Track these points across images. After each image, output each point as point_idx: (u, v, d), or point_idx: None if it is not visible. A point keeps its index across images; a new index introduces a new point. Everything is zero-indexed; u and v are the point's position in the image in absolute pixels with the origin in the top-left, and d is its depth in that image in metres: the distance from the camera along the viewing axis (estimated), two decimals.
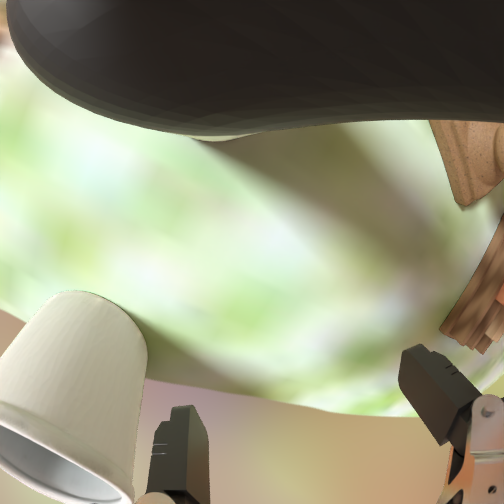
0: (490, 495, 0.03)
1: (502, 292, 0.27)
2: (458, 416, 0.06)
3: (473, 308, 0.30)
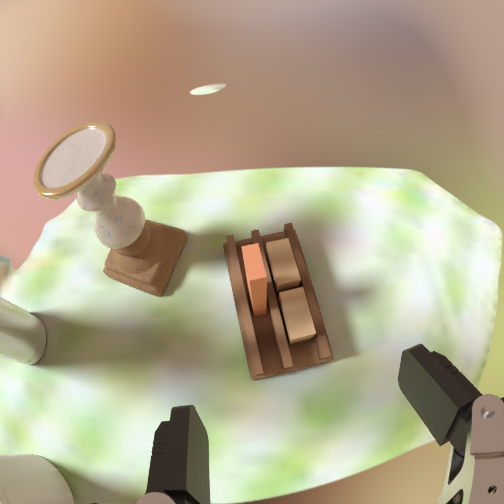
0: (490, 495, 0.03)
1: None
2: (458, 416, 0.06)
3: None
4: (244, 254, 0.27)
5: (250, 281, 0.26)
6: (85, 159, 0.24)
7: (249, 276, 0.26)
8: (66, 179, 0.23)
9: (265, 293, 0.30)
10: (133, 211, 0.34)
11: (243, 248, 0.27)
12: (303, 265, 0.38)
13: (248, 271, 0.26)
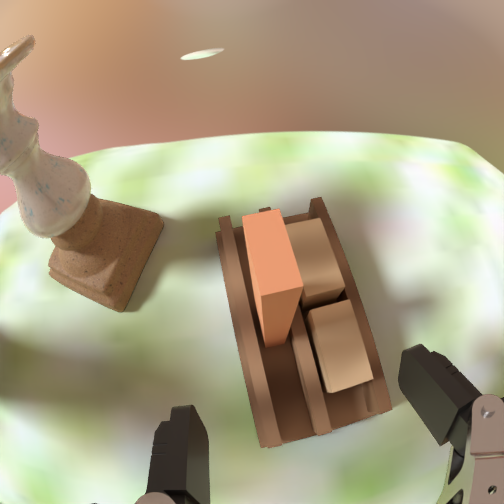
0: (490, 495, 0.03)
1: None
2: (458, 416, 0.06)
3: None
4: (248, 233, 0.12)
5: (263, 297, 0.11)
6: None
7: (261, 285, 0.11)
8: None
9: (291, 317, 0.15)
10: (68, 176, 0.18)
11: (246, 220, 0.12)
12: (345, 263, 0.23)
13: (258, 273, 0.11)
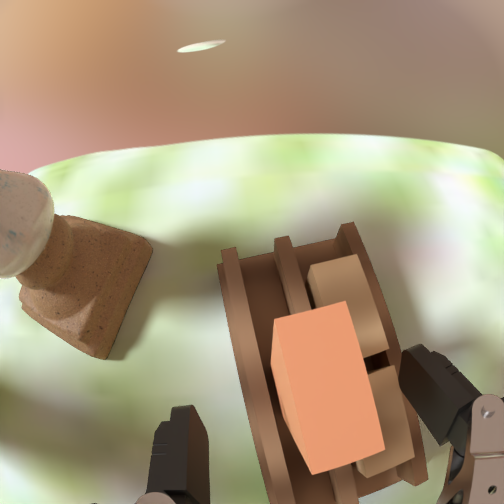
0: (490, 495, 0.03)
1: (279, 399, 0.14)
2: (458, 416, 0.06)
3: None
4: (289, 357, 0.06)
5: None
6: None
7: (313, 457, 0.05)
8: None
9: None
10: (21, 200, 0.12)
11: (283, 328, 0.06)
12: (385, 312, 0.17)
13: (309, 437, 0.05)
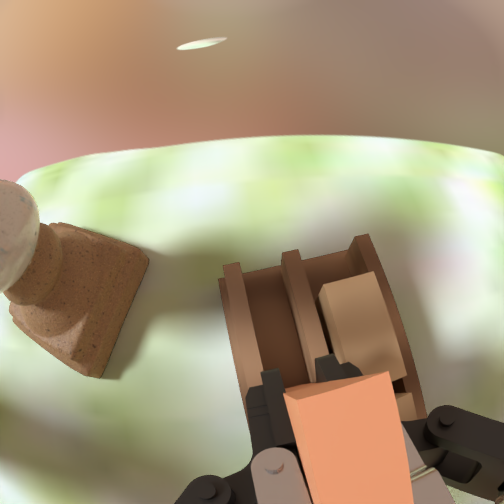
0: None
1: None
2: None
3: None
4: (314, 447, 0.04)
5: None
6: None
7: None
8: None
9: None
10: (1, 212, 0.10)
11: (308, 411, 0.04)
12: (402, 333, 0.15)
13: None
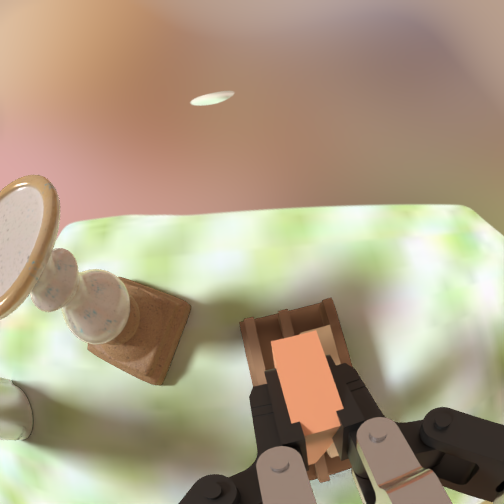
0: None
1: None
2: (349, 434, 0.07)
3: None
4: (279, 362, 0.09)
5: None
6: (16, 251, 0.12)
7: None
8: None
9: (327, 446, 0.10)
10: (111, 299, 0.23)
11: (276, 346, 0.09)
12: (347, 358, 0.27)
13: (292, 411, 0.08)
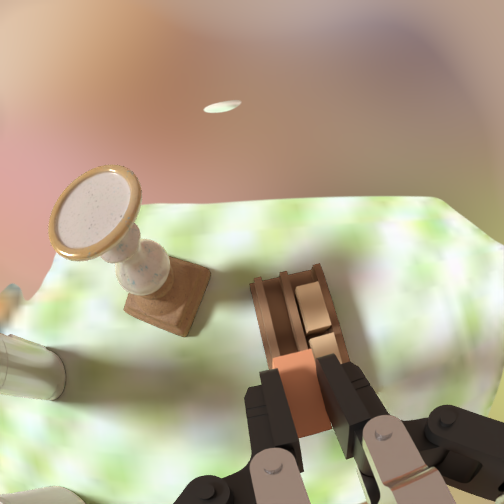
0: None
1: None
2: (355, 433, 0.07)
3: None
4: None
5: None
6: (108, 213, 0.23)
7: None
8: (88, 238, 0.22)
9: None
10: (158, 258, 0.33)
11: (277, 362, 0.11)
12: (332, 308, 0.37)
13: None
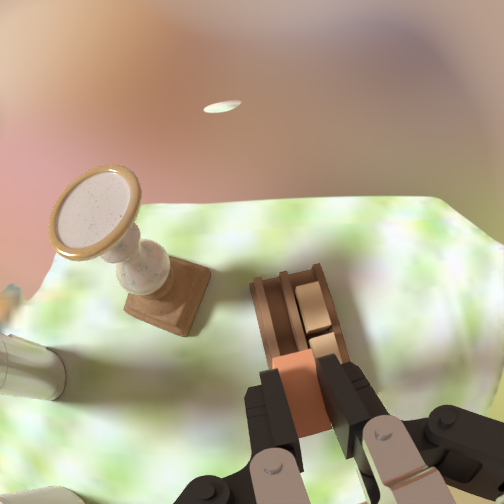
0: None
1: None
2: (355, 433, 0.07)
3: None
4: None
5: None
6: (108, 213, 0.23)
7: None
8: (88, 238, 0.22)
9: None
10: (158, 258, 0.33)
11: (277, 362, 0.11)
12: (332, 308, 0.37)
13: None
